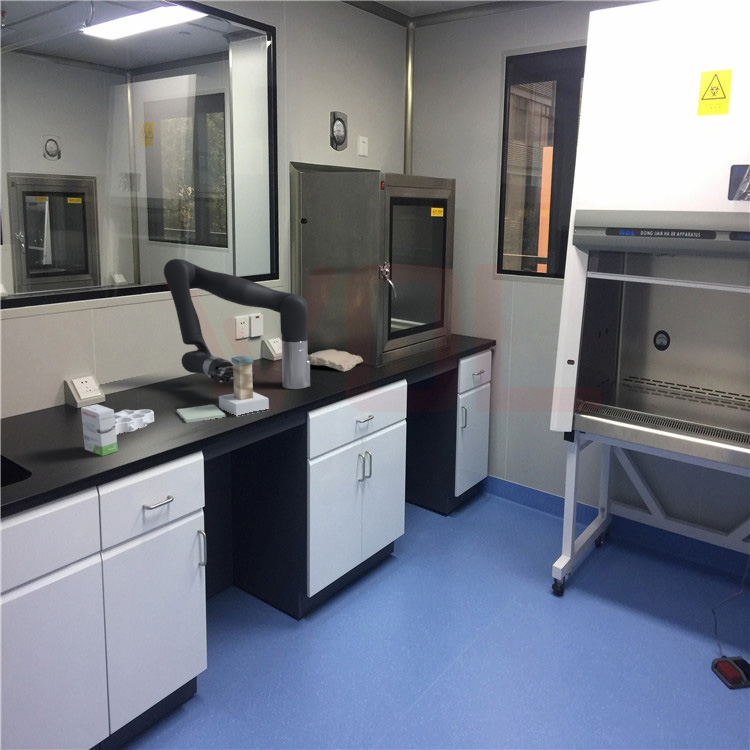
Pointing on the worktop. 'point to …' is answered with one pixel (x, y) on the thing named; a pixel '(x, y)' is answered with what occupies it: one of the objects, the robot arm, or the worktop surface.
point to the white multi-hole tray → (132, 420)
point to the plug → (242, 377)
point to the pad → (200, 413)
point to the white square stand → (243, 404)
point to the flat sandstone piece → (335, 359)
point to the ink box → (99, 429)
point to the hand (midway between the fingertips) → (241, 378)
